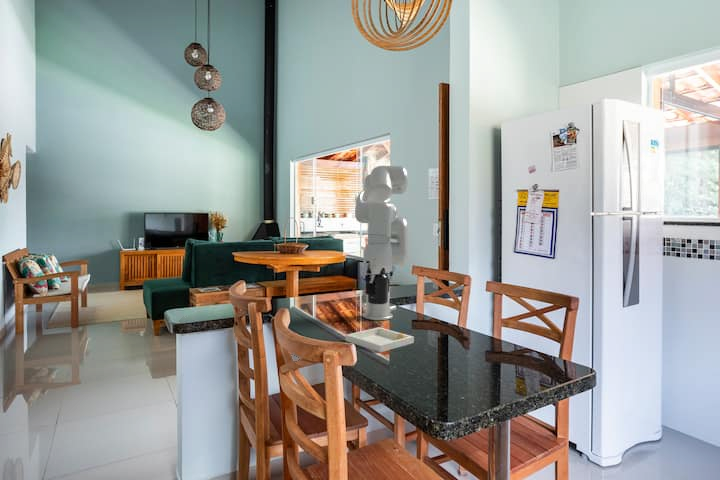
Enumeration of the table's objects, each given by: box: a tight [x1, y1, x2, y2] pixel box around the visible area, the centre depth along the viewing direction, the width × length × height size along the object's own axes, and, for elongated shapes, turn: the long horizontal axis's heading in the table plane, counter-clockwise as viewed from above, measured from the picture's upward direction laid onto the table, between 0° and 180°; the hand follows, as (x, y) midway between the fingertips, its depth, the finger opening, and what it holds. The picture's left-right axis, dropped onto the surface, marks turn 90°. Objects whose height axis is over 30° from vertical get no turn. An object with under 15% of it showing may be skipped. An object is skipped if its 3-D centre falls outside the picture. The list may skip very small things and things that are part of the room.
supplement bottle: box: [368, 268, 388, 304], centre depth 151 cm, size 7×7×12 cm
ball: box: [397, 332, 406, 340], centre depth 150 cm, size 3×3×3 cm
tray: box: [345, 326, 415, 353], centre depth 150 cm, size 16×16×3 cm
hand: (377, 292), depth 151 cm, fingers closed on supplement bottle, 6 cm apart
